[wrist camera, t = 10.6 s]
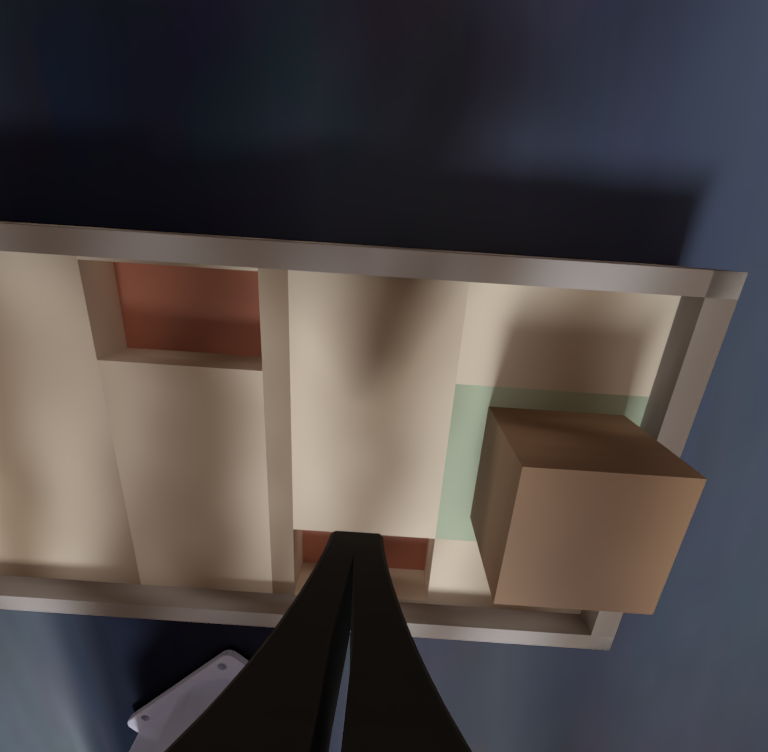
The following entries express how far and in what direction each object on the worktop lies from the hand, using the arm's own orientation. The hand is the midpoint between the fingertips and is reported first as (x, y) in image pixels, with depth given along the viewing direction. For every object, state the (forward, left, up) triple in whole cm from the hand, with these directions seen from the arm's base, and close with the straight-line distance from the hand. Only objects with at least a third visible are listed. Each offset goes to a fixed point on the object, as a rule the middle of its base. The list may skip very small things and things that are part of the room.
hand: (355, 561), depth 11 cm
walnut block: (+5, -5, -5) cm, 8 cm away
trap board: (-3, +4, -7) cm, 8 cm away
